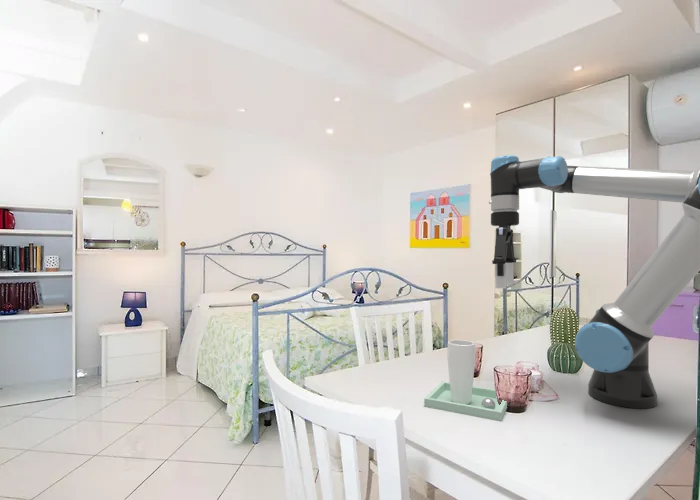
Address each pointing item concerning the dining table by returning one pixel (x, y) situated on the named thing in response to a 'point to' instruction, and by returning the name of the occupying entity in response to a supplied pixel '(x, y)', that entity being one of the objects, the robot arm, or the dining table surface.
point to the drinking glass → (461, 370)
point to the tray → (443, 402)
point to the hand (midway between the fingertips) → (505, 286)
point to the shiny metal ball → (488, 403)
